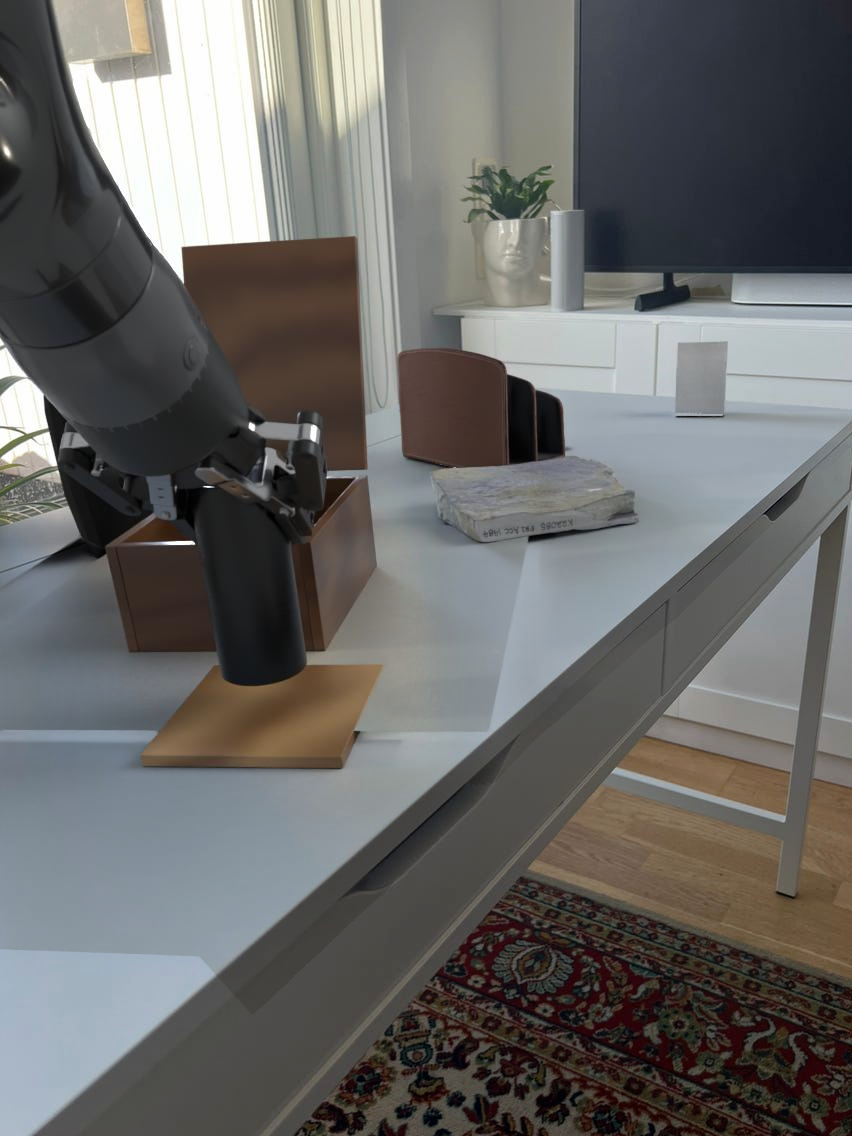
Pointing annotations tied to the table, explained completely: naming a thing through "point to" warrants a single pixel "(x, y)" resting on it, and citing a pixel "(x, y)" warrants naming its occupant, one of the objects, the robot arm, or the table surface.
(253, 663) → the tin
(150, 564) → the wooden box
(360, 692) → the board
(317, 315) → the lid
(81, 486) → the portable speaker
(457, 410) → the letter holder
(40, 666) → the table surface
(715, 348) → the grey rectangular block
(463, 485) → the fossil
